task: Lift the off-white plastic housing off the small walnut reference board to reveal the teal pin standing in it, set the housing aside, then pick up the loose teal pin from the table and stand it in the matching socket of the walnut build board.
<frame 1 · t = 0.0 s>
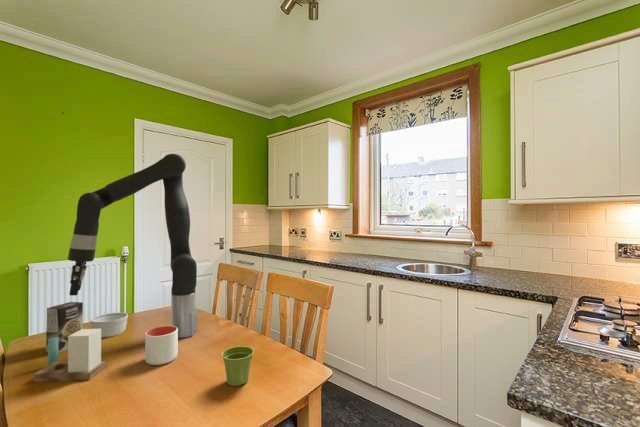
hand: (74, 292, 110), 22 cm above the table, tool pointing down, fingers open, 8 cm apart
build board: (58, 374, 97), on the table
plant pot: (237, 381, 93), on the table
pin: (53, 366, 102), on the table
housing: (85, 367, 97), point 2 cm above the table, touching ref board
cup: (161, 360, 107), on the table
coffee box: (65, 348, 117), on the table
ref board: (85, 373, 97), on the table
ramekin: (109, 333, 131), on the table
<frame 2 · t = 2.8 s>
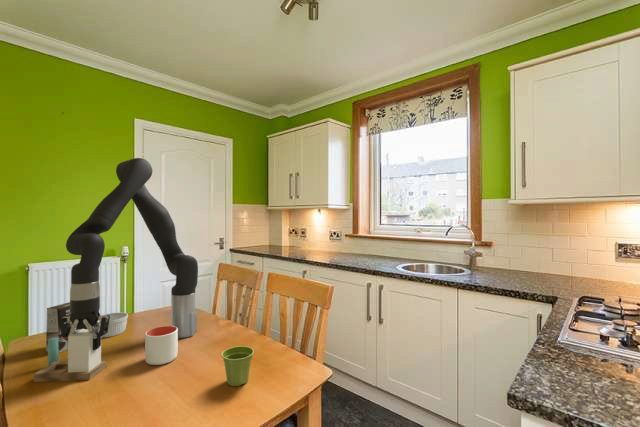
hand: (85, 349, 97), 8 cm above the table, tool pointing down, fingers closed on housing, 6 cm apart
housing: (85, 367, 97), point 2 cm above the table, touching gripper, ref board
everything else where it was.
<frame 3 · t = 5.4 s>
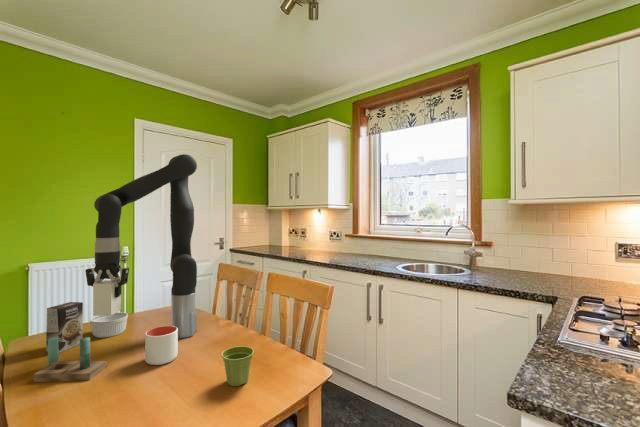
hand: (107, 297, 110), 21 cm above the table, tool pointing down, fingers closed on housing, 6 cm apart
housing: (107, 312, 110), point 15 cm above the table, touching gripper
everything else where it was.
when the fingers open (7 cm above the table, at t = 8.3 s): housing drops 1 cm, on the table.
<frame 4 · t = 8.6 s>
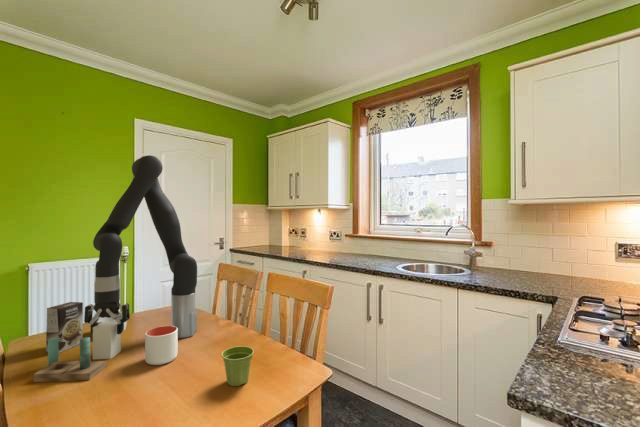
hand: (107, 333, 110), 8 cm above the table, tool pointing down, fingers open, 8 cm apart
housing: (107, 355, 110), on the table
everything else where it was.
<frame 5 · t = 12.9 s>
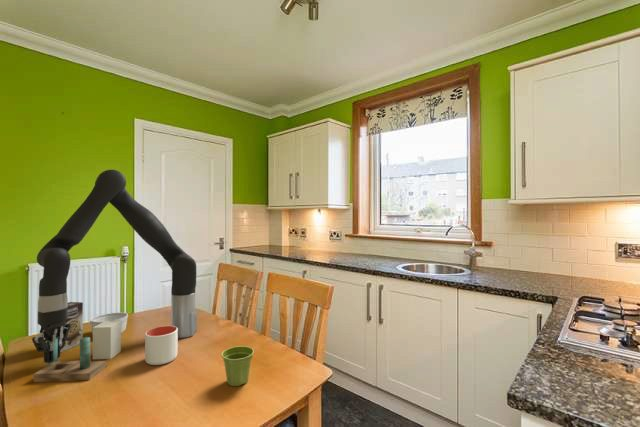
hand: (52, 359, 102), 2 cm above the table, tool pointing down, fingers closed on pin, 2 cm apart
pin: (52, 366, 102), on the table, touching gripper
everything else where it was.
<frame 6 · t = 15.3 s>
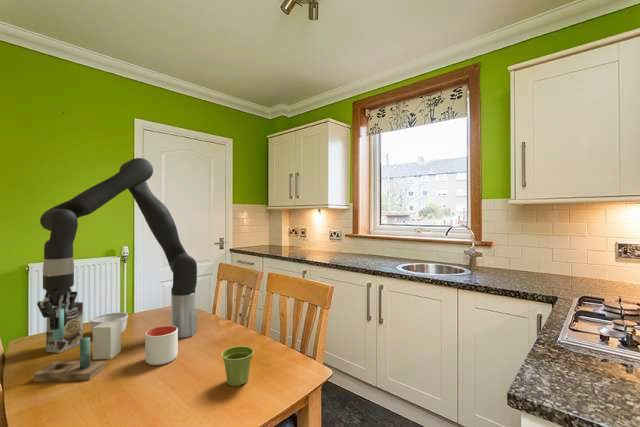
hand: (58, 327, 97), 15 cm above the table, tool pointing down, fingers closed on pin, 2 cm apart
pin: (58, 338, 97), point 11 cm above the table, touching gripper
everything else where it was.
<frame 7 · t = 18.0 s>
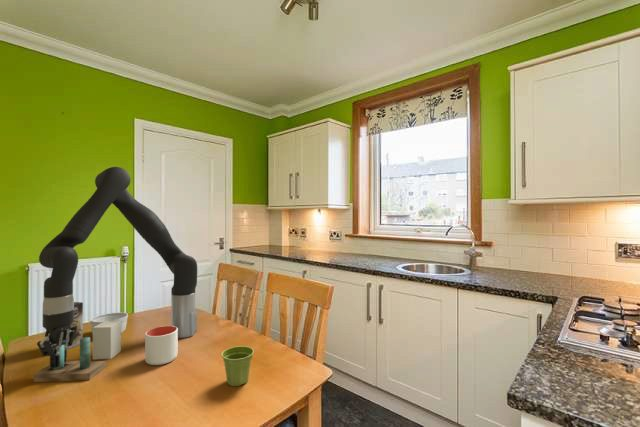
hand: (58, 364, 97), 3 cm above the table, tool pointing down, fingers closed on pin, 2 cm apart
pin: (58, 374, 97), resting in build board, touching gripper
everything else where it was.
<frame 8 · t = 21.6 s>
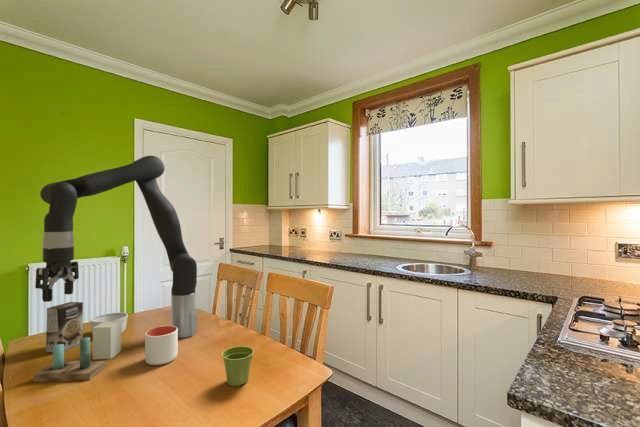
hand: (58, 297, 97), 24 cm above the table, tool pointing down, fingers open, 8 cm apart
pin: (58, 374, 97), resting in build board
everything else where it was.
at the end: pin 0.1 cm off-centre on the build board, point 0.0 cm above the build board's base; pin tilted 0°; housing moved 13.2 cm from its start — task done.
